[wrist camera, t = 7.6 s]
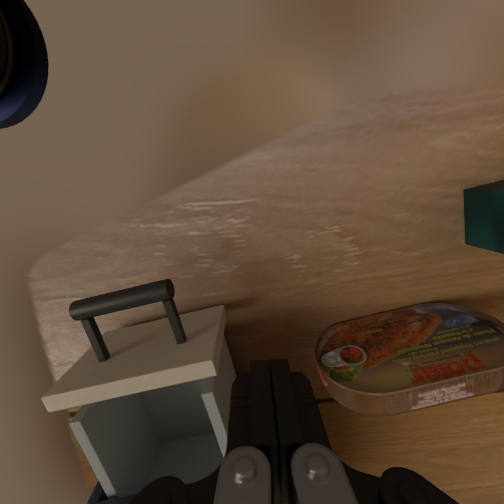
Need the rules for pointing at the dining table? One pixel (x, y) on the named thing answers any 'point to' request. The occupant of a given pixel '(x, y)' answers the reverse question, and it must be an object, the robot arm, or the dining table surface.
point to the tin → (411, 358)
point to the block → (485, 216)
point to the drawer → (149, 391)
